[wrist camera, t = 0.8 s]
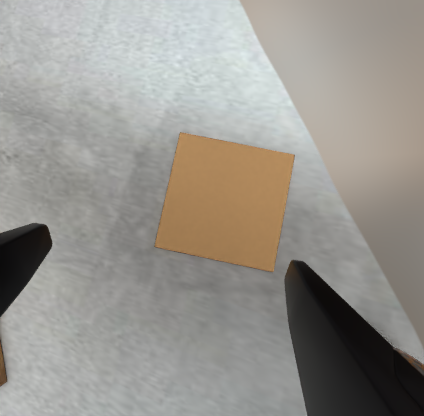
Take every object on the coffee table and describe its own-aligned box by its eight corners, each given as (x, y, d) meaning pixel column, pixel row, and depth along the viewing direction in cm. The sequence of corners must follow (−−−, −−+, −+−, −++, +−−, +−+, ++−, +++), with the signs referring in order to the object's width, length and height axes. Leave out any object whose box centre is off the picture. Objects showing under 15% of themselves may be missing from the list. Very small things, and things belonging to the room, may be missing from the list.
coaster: (272, 271, 23) (273, 272, 22) (155, 246, 23) (154, 246, 23) (293, 156, 24) (294, 154, 23) (180, 134, 24) (180, 132, 23)
